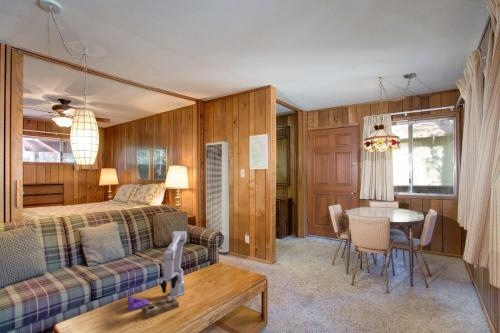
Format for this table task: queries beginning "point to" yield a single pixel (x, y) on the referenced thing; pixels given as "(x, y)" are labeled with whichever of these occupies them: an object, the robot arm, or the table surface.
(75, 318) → the table surface
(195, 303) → the table surface
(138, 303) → the bracket
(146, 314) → the board
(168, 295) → the pin
